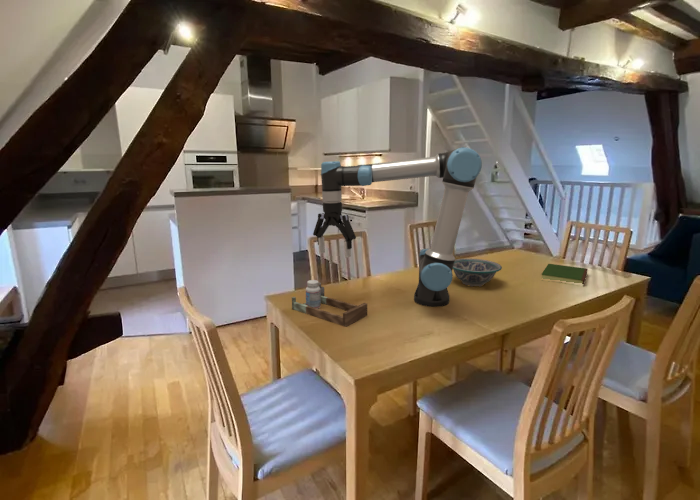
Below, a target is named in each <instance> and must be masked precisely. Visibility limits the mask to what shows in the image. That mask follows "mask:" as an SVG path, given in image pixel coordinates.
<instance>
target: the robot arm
mask: <svg viewBox="0 0 700 500" xmlns="http://www.w3.org/2000/svg"><path fill="white" fill-rule="evenodd" d="M482 165H483V163H482V158H481V156H480V154H479V153H478V152H477V151H476V150H475V149H473V148H469V147H465V146H464V147H459V148H456V149H452V150H450V151H449V150H448V151H446V152H441V153H440V152H439V153H436V155H435V156H430V157H429V156H427V157H419V158H411V159H410V158H409V159H402V160H394V161H386V162H378V163H377V162H376V163H370V164H369V163H368V164H357V165H347V166H344V165H341V162H340V161H339V160H338V161H335V160H334V161H323V162H322V163H321V165H320V167H321V168H320V176H321V177H320V179H321V195H322V196H321V198H322V202H323V203H322V212H321V213H318V214H317V220H316V224H315V226H314V230H313V233H312V235H313V236H315V237H316V238H317V246H318V253H319V254H320V255H321V254H324V253H326V248H325V246H326V245H325V244H326V243H325V237H324V234H325V232H326V231H327V230H328V228H329V226H332V227H336V228H337V229H338V230H339V232H340V233H341V235H342V237H344V239H345V240H344V258H346V259H348V258H349V257H351V256H352V254H351V251H352V250H351V249H352V247H353V246H352V245H353V243H352V242H353V240H356V238H357V237H356V234H355V231H354V230H353V226H352V224H351V222H350V216H349V215H348V214H345V215H343V214H342V212H343V202H342V199H343V197H342V187H360V186H361V187H366V186H371V185H372V184H373V183H379V182H387V181H388V182H390V181H399V180H407V179H408V180H409V179H418V178H428V177H429V178H430V177H436V178H438V179H442V181H441V183H442V184H443V186H444V190H443V195H442V199H441V202H440V208H439V211H438V216H437V220H436V224H435V229H434V231H433V235H432V239H431V244H430V248H422V249H420V251H419V255H418V257H419V261H418V262H419V265H418V284H417V286H416V289H415V292H414V295H413V301H414V302H415V303H416V304H418V305H420V306H424V307H429V308H431V307H432V308H438V307H439V308H440V307H446V306H447V305H449V303H450V293H449V290H448V287H450V285H451V284H452V281H453V271H454V270H453V266H454V262H455V260H456V257H455V256H454V249H455V246H456V245H455V244H456V241H457V237H458V233H459V229H460V226H461V222H462V218H463V214H464V210H465V206H466V201H467V199H468V195H469V192H470V191H472V190H474V188H475V184H476V180H477V178H478V176H479V175H480V173H481V170H482Z"/></svg>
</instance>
